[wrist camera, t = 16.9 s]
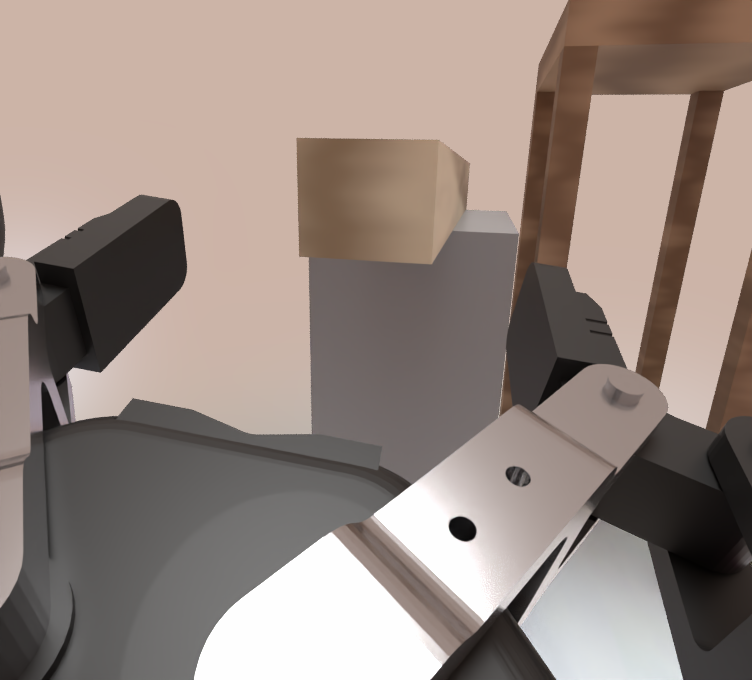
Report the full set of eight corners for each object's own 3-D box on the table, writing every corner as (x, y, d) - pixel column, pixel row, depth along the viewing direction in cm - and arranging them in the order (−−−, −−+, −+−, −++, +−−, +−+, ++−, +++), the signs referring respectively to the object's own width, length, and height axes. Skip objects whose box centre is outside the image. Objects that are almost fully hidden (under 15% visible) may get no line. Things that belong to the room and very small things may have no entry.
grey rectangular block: (314, 613, 29) (308, 224, 22) (368, 478, 42) (374, 206, 35) (472, 644, 27) (518, 234, 21) (477, 493, 40) (506, 211, 34)
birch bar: (299, 256, 14) (296, 138, 13) (415, 206, 36) (417, 162, 35) (431, 264, 13) (438, 139, 12) (466, 208, 35) (469, 163, 34)
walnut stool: (498, 569, 33) (570, -7, 23) (495, 451, 47) (539, 63, 37) (702, 603, 31) (881, -19, 20) (634, 469, 44) (721, 60, 34)
